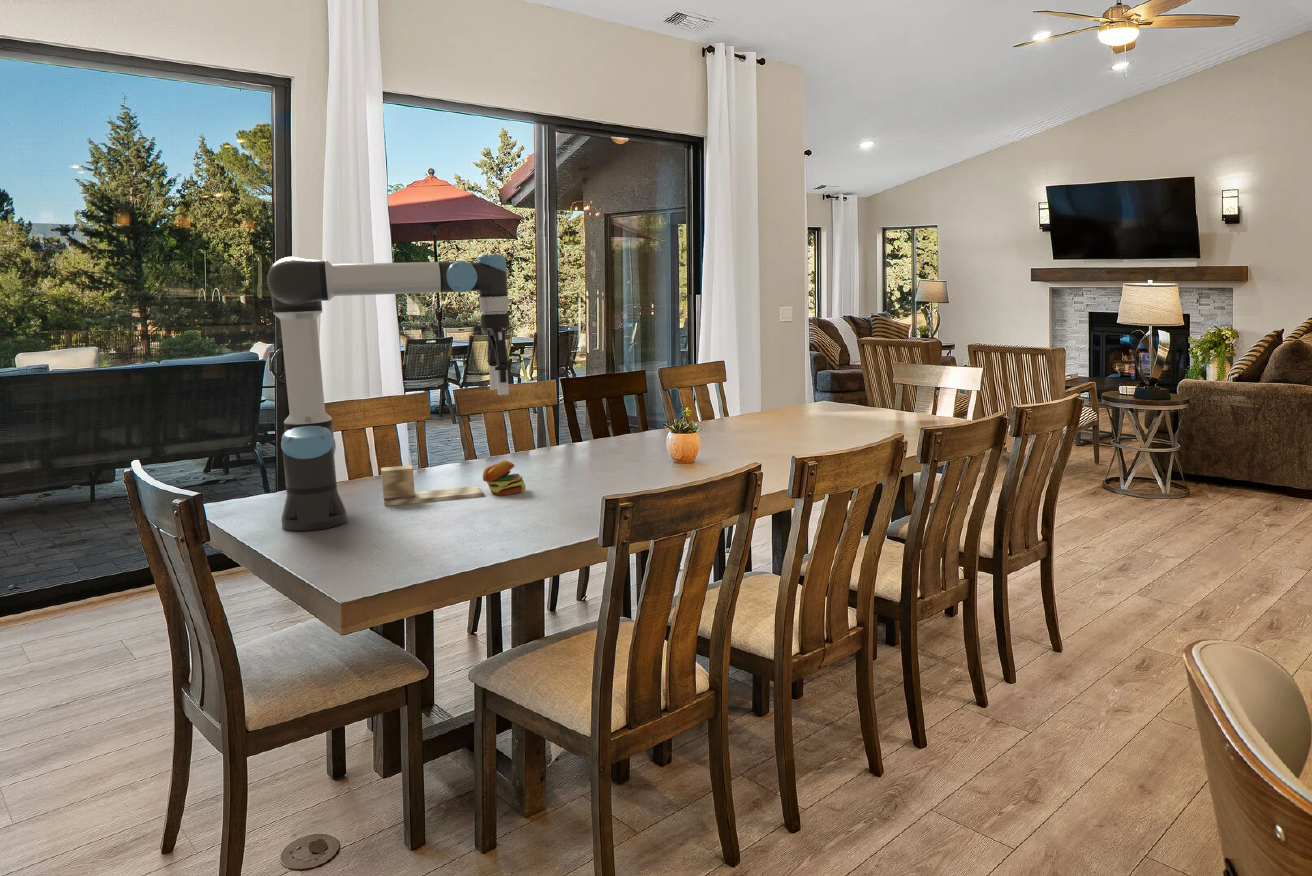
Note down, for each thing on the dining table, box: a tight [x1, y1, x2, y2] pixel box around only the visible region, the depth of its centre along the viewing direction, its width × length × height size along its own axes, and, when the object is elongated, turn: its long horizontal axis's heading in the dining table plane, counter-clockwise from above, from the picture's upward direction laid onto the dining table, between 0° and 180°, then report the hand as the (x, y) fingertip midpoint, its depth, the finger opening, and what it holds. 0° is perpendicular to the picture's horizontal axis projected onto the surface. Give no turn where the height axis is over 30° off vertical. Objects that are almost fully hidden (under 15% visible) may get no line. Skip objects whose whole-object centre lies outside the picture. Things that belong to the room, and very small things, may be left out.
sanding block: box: [380, 464, 416, 502], centre depth 248 cm, size 8×5×8 cm, turn 108°
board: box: [382, 485, 485, 507], centre depth 251 cm, size 26×9×1 cm, turn 108°
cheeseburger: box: [482, 459, 526, 496], centre depth 254 cm, size 10×11×10 cm
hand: (499, 392), depth 250 cm, fingers open, 13 cm apart
